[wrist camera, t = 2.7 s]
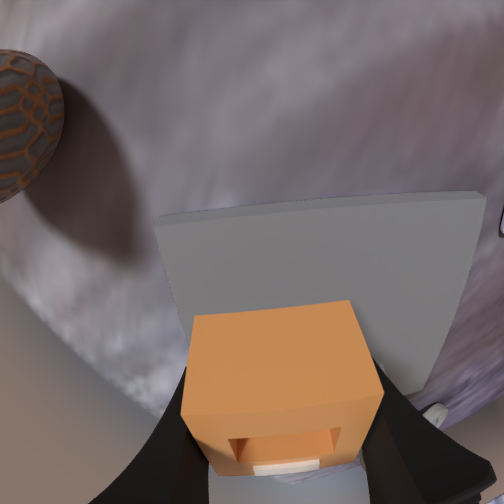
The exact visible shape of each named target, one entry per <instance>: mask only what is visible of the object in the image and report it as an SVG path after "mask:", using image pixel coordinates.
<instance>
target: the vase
mask: <svg viewBox="0 0 504 504" xmlns="http://www.w3.org/2000/svg"><path fill="white" fill-rule="evenodd" d="M63 124H64V99H63V94H62V90H61V87H60V84H59V82H58V80H57V78H56V76H55V75H54V73H53V72H52V71H51V70H50V69H49V67H48V66H47V65H46V64H45V63H43V62H42V61H41V60H39V59H38V58H36V57H34V56H32V55H30V54H28V53H25V52H22V51H17V50H9V49H0V203H3V202H5V201H7V200H8V199H10V198H11V197H13V196H15V195H16V194H18V193H19V192H20V191H21V190H23V189H24V188H25V187H26V186H28V185H29V184H30V183H31V182H32V181H33V180H34V179H35V178H36V177H37V176H38V175H39V174H40V172H41V171H42V170H43V169H44V167H45V166H46V165H47V163H48V161H49V160H50V158H51V157H52V155H53V153H54V151H55V149H56V147H57V144H58V142H59V139H60V137H61V133H62V129H63Z"/></svg>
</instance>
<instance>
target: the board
mask: <svg viewBox="0 0 504 504" xmlns="http://www.w3.org/2000/svg"><path fill="white" fill-rule="evenodd" d="M486 201H487V198H485V197H484V196H482V195H481V194H479V193H478V192H477V191H447V192H421V193H400V194H382V195H366V196H351V197H337V198H325V199H312V200H301V201H290V202H279V203H269V204H259V205H249V206H240V207H231V208H222V209H214V210H205V211H197V212H189V213H181V214H174V215H166V216H159V217H158V219H157V221H156V223H155V225H154V227H153V229H154V232H155V236H156V240H157V244H158V247H159V251H160V254H161V258H162V262H163V265H164V269H165V272H166V275H167V279H168V282H169V285H170V289H171V292H172V295H173V299H174V302H175V305H176V308H177V311H178V314H179V317H180V320H181V324H182V327H183V330H184V333H185V335H186V338H187V341H188V344H189V347H190V342H191V336H192V329H193V323H194V317H195V316H196V315H210V314H223V313H235V312H246V311H256V310H267V309H276V308H286V307H295V306H303V305H312V304H320V303H328V302H336V301H343V300H349V301H350V304H351V306H352V309H353V311H354V314H355V316H356V319H357V321H358V324H359V326H360V329H361V331H362V334H363V336H364V339H365V341H366V344H367V347H368V349H369V352H370V354H371V355H372V357H373V358H374V360H375V361H378V360H381V362H382V364H383V367H384V369H385V372H386V374H387V377H388V378H389V379H390V380H391V382H392V383H393V384H394V385H395V386H396V387H397V389H398V390H399V391H400V392H401V393H402V394H403V396H404V395H408V394H412V393H415V392H419V391H422V389H423V387H424V385H425V383H426V381H427V379H428V377H429V375H430V373H431V371H432V368H433V366H434V364H435V362H436V360H437V358H438V355H439V353H440V351H441V349H442V346H443V344H444V341H445V339H446V337H447V334H448V332H449V329H450V327H451V324H452V321H453V319H454V316H455V314H456V311H457V308H458V305H459V302H460V300H461V297H462V294H463V291H464V288H465V284H466V281H467V278H468V275H469V272H470V268H471V265H472V261H473V258H474V254H475V250H476V246H477V242H478V238H479V234H480V230H481V226H482V221H483V216H484V211H485V206H486Z"/></svg>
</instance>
